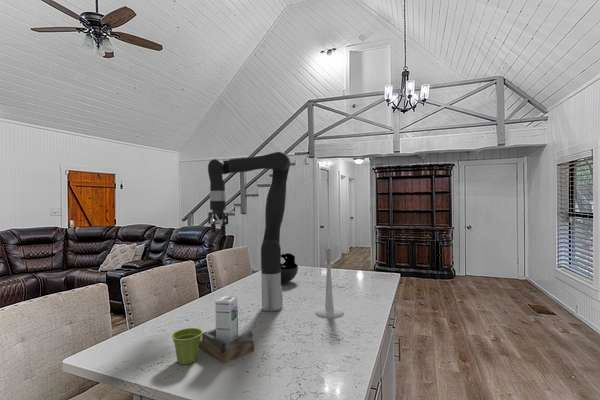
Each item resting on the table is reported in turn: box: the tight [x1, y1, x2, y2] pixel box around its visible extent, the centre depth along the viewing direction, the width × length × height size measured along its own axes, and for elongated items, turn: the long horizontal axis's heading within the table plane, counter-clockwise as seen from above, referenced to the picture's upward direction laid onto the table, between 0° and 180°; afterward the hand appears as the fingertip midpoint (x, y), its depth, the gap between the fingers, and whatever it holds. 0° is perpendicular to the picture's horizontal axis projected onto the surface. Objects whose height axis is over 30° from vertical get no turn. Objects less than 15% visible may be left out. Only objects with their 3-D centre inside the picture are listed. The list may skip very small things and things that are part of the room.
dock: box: [198, 328, 255, 364], centre depth 111 cm, size 12×20×6 cm, turn 47°
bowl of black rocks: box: [281, 253, 299, 284], centre depth 200 cm, size 20×20×19 cm
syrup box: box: [214, 295, 239, 341], centre depth 109 cm, size 6×6×14 cm
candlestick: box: [314, 247, 344, 319], centre depth 144 cm, size 13×13×30 cm
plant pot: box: [171, 327, 203, 365], centre depth 102 cm, size 9×9×9 cm
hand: (218, 233), depth 156 cm, fingers open, 8 cm apart
